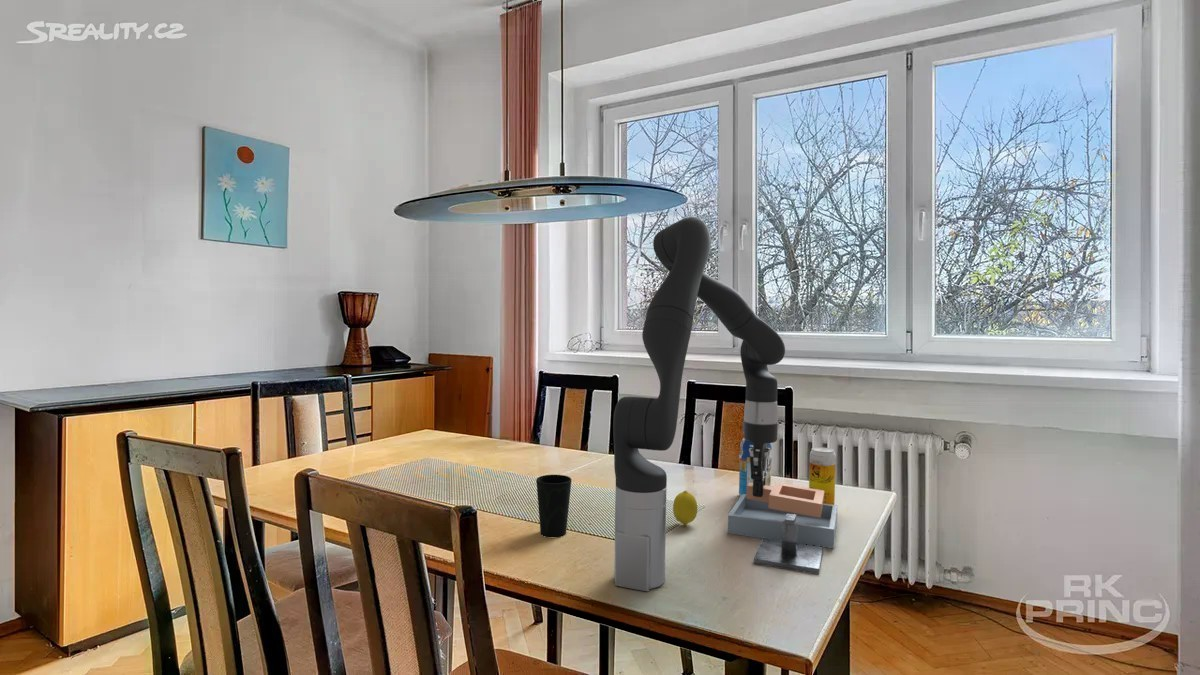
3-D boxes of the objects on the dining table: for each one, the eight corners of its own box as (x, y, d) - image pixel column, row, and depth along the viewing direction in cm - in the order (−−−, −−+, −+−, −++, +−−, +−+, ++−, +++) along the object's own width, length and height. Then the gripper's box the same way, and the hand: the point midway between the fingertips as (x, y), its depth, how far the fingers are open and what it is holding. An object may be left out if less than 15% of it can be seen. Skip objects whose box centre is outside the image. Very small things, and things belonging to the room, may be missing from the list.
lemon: (696, 530, 143) (697, 495, 142) (671, 528, 144) (672, 493, 143) (697, 522, 148) (698, 488, 148) (673, 520, 149) (674, 486, 149)
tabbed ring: (820, 517, 137) (821, 504, 137) (743, 503, 143) (744, 490, 143) (823, 503, 147) (824, 490, 147) (750, 490, 153) (751, 478, 153)
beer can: (804, 509, 159) (805, 449, 158) (814, 503, 163) (816, 445, 163) (827, 514, 155) (829, 453, 154) (838, 509, 159) (839, 449, 159)
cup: (542, 541, 135) (542, 485, 134) (531, 529, 142) (531, 476, 141) (576, 536, 138) (576, 481, 137) (563, 525, 145) (564, 473, 144)
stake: (818, 574, 120) (820, 532, 119) (753, 563, 124) (754, 523, 124) (822, 551, 131) (823, 513, 130) (762, 543, 135) (763, 505, 135)
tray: (833, 548, 133) (834, 529, 133) (727, 533, 141) (728, 515, 141) (836, 522, 149) (837, 505, 149) (742, 509, 158) (742, 493, 158)
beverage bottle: (748, 490, 175) (750, 417, 174) (776, 496, 169) (778, 421, 169) (732, 496, 169) (733, 421, 168) (760, 503, 163) (762, 425, 162)
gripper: (773, 426, 138) (771, 505, 139) (781, 416, 151) (779, 488, 152) (739, 423, 141) (737, 500, 142) (749, 414, 154) (747, 484, 155)
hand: (759, 493), depth 147 cm, fingers closed on tabbed ring, 3 cm apart
